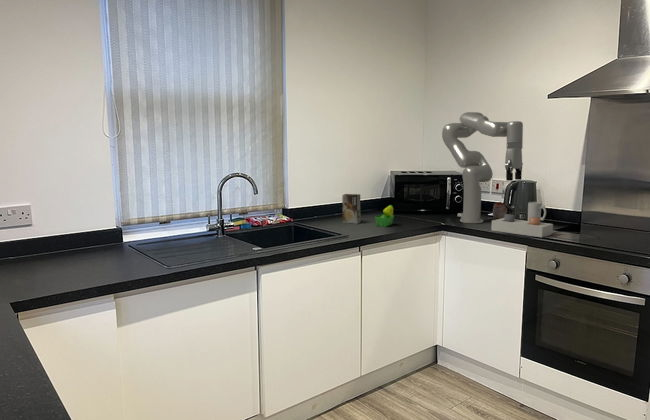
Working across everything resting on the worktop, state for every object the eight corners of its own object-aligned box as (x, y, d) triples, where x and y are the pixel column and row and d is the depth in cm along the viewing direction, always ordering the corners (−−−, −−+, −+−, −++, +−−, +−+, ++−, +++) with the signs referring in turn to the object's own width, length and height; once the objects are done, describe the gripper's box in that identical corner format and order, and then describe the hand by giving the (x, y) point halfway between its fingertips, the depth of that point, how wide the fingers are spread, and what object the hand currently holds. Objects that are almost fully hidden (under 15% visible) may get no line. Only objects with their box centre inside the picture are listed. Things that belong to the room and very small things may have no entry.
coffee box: (361, 222, 280) (361, 194, 278) (357, 224, 275) (357, 195, 272) (345, 221, 284) (345, 193, 282) (342, 223, 278) (342, 194, 276)
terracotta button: (527, 227, 243) (527, 217, 242) (531, 226, 246) (532, 216, 245) (537, 228, 239) (537, 219, 238) (541, 227, 242) (542, 217, 242)
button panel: (491, 230, 253) (491, 220, 252) (502, 227, 261) (503, 218, 260) (541, 237, 234) (542, 227, 233) (552, 234, 242) (553, 224, 242)
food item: (508, 220, 283) (508, 203, 281) (493, 220, 285) (494, 203, 283) (504, 217, 296) (505, 200, 295) (490, 216, 298) (491, 200, 296)
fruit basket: (381, 223, 277) (381, 203, 275) (396, 224, 273) (396, 204, 271) (373, 226, 267) (374, 205, 266) (389, 227, 263) (389, 206, 261)
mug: (524, 224, 270) (525, 202, 268) (531, 223, 274) (532, 201, 272) (541, 226, 262) (543, 204, 260) (548, 225, 266) (549, 203, 264)
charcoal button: (502, 224, 252) (502, 215, 251) (507, 223, 255) (507, 213, 255) (511, 225, 248) (512, 216, 248) (516, 224, 252) (516, 215, 251)
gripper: (514, 146, 258) (514, 179, 260) (499, 146, 246) (498, 180, 248) (529, 145, 252) (528, 179, 254) (513, 146, 240) (513, 181, 242)
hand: (513, 180), depth 251 cm, fingers open, 9 cm apart
